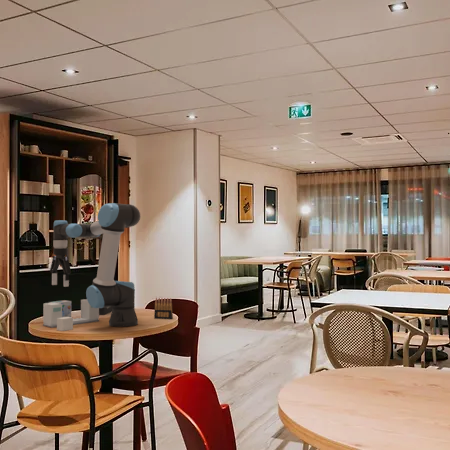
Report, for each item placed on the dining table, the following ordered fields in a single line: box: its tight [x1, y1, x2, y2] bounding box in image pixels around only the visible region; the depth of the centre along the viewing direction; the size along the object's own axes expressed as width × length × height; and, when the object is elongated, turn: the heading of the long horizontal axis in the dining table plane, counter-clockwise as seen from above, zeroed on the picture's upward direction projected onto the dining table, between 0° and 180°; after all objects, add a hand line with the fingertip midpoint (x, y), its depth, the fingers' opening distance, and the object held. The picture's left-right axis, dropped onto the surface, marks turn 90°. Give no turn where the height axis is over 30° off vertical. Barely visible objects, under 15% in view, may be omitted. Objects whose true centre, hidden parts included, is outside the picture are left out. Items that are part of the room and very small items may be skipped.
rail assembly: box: [42, 298, 100, 329], centre depth 278 cm, size 10×28×12 cm, turn 135°
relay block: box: [56, 316, 74, 332], centre depth 259 cm, size 5×6×6 cm
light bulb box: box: [48, 299, 72, 317], centre depth 288 cm, size 11×7×11 cm, turn 143°
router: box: [91, 282, 112, 316], centre depth 316 cm, size 8×18×20 cm, turn 174°
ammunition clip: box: [153, 297, 174, 320], centre depth 293 cm, size 11×2×12 cm, turn 74°
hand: (60, 285), depth 288 cm, fingers open, 13 cm apart
